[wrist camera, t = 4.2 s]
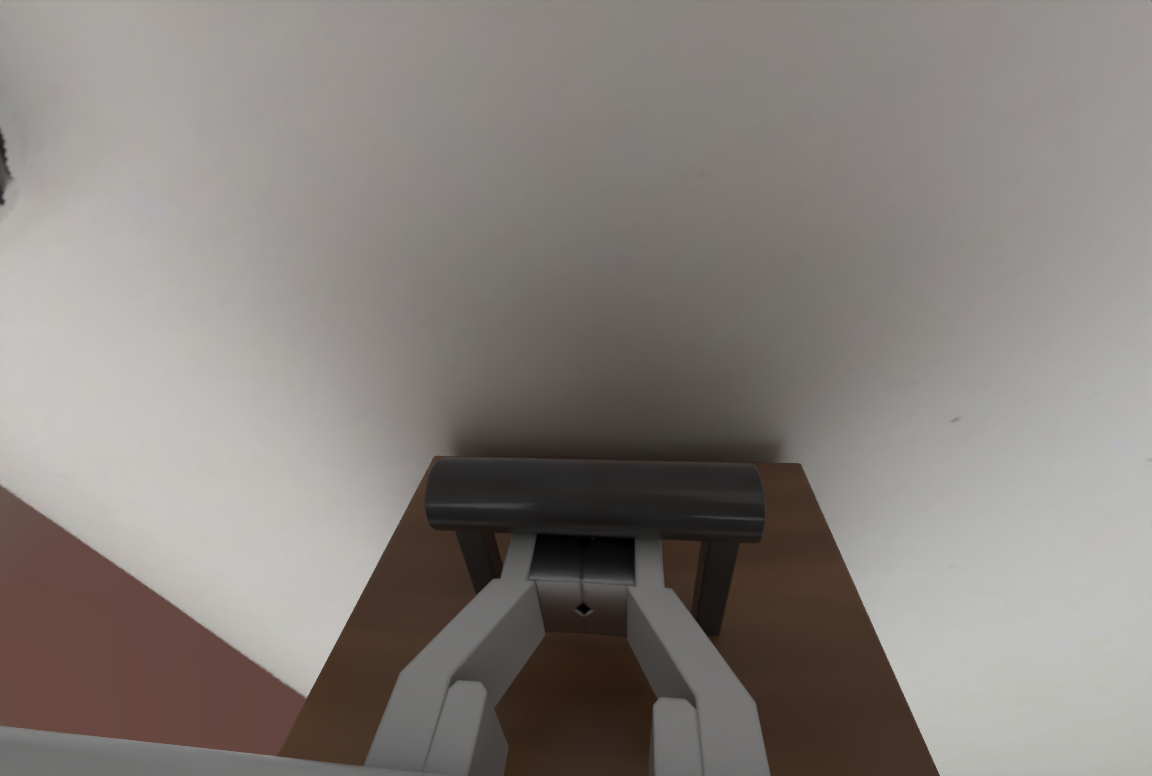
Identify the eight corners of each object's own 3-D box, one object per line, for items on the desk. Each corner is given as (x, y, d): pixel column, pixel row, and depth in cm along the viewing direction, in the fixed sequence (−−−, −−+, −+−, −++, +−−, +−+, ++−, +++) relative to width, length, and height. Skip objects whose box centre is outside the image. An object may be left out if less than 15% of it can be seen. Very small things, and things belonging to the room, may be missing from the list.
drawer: (393, 333, 13) (106, 638, 6) (840, 327, 12) (1182, 724, 4) (499, 653, 24) (443, 898, 17) (738, 671, 23) (790, 950, 15)
